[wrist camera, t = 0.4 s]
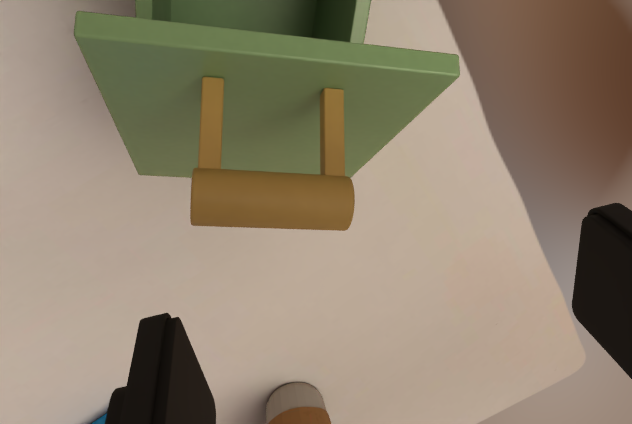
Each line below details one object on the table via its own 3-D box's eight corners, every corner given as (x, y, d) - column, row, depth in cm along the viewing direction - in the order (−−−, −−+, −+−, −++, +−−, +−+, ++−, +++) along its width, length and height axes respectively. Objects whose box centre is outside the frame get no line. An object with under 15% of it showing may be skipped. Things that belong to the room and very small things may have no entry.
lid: (75, 9, 14) (54, 207, 13) (459, 53, 16) (471, 223, 15) (139, 161, 28) (132, 263, 26) (342, 173, 30) (343, 266, 29)
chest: (159, -107, 32) (131, -125, 22) (336, -77, 34) (385, -81, 24) (161, 103, 38) (139, 165, 28) (310, 115, 41) (340, 176, 30)
